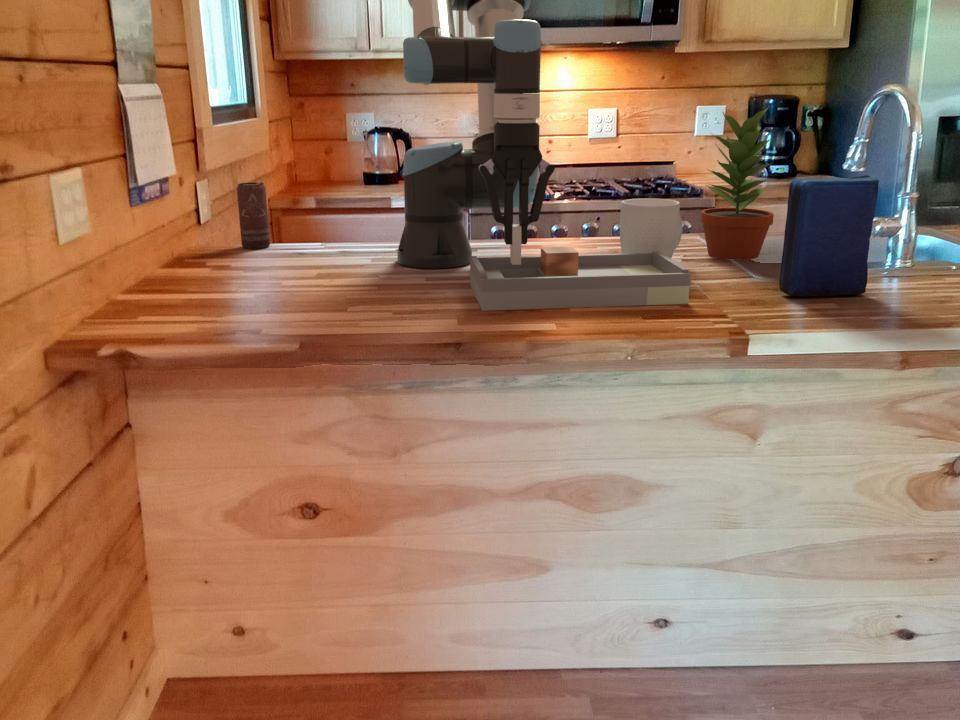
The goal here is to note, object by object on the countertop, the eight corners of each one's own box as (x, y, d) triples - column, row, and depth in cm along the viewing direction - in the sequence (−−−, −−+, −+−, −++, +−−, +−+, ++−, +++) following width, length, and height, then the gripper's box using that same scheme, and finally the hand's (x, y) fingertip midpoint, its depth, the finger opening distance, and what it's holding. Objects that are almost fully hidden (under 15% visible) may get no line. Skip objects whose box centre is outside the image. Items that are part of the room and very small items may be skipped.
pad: (646, 305, 138) (647, 287, 137) (617, 280, 155) (617, 264, 154) (688, 303, 139) (689, 285, 138) (654, 279, 156) (655, 263, 155)
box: (482, 310, 135) (481, 276, 134) (470, 285, 152) (470, 255, 151) (688, 303, 139) (690, 270, 137) (654, 279, 156) (656, 250, 154)
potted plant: (681, 251, 182) (691, 105, 172) (740, 246, 187) (753, 104, 177) (723, 264, 168) (736, 107, 159) (785, 259, 173) (802, 105, 164)
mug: (655, 259, 174) (659, 194, 170) (700, 267, 166) (705, 200, 162) (605, 269, 165) (608, 201, 161) (650, 278, 157) (654, 207, 153)
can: (277, 246, 190) (271, 182, 186) (255, 250, 185) (250, 185, 181) (257, 243, 193) (252, 181, 189) (236, 247, 188) (230, 183, 184)
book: (854, 291, 147) (869, 173, 141) (870, 298, 142) (888, 176, 136) (774, 293, 145) (787, 174, 139) (788, 301, 140) (802, 178, 134)
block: (546, 276, 145) (546, 253, 144) (540, 269, 150) (540, 247, 149) (577, 275, 146) (578, 252, 145) (570, 268, 151) (571, 246, 150)
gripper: (479, 122, 135) (480, 268, 142) (560, 121, 136) (557, 266, 144) (474, 120, 142) (475, 259, 150) (551, 120, 144) (548, 257, 151)
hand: (515, 262), depth 147 cm, fingers closed
